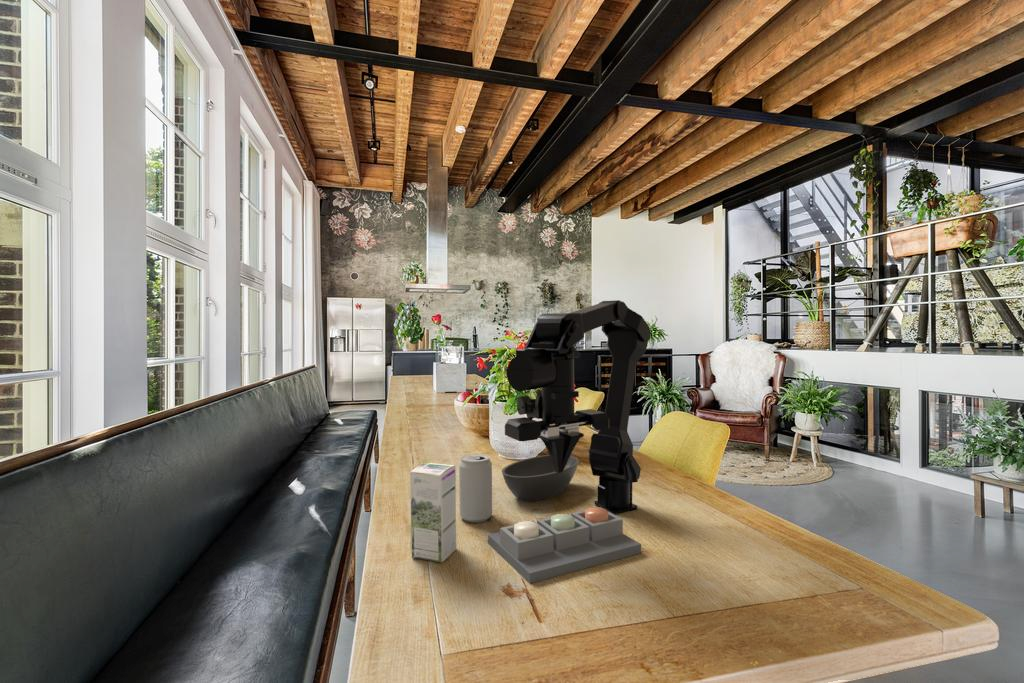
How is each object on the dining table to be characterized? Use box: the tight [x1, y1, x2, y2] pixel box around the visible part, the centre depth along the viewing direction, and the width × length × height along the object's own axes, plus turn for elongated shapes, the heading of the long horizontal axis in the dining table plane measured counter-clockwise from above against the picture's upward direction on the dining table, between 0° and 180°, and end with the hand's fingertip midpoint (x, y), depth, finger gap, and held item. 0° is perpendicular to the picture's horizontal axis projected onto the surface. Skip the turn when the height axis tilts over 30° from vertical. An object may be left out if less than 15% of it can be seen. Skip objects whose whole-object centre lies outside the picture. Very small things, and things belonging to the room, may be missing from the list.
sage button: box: [551, 513, 575, 531], centre depth 84 cm, size 4×4×3 cm
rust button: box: [585, 506, 609, 524], centre depth 87 cm, size 4×4×3 cm
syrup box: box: [409, 462, 457, 563], centre depth 82 cm, size 6×6×14 cm
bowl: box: [501, 454, 580, 502], centre depth 112 cm, size 12×22×6 cm, turn 135°
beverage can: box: [458, 453, 493, 523], centre depth 97 cm, size 6×6×12 cm
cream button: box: [513, 520, 539, 540], centre depth 80 cm, size 4×4×3 cm
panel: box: [487, 506, 642, 584], centre depth 84 cm, size 21×15×4 cm
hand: (558, 472), depth 88 cm, fingers closed
